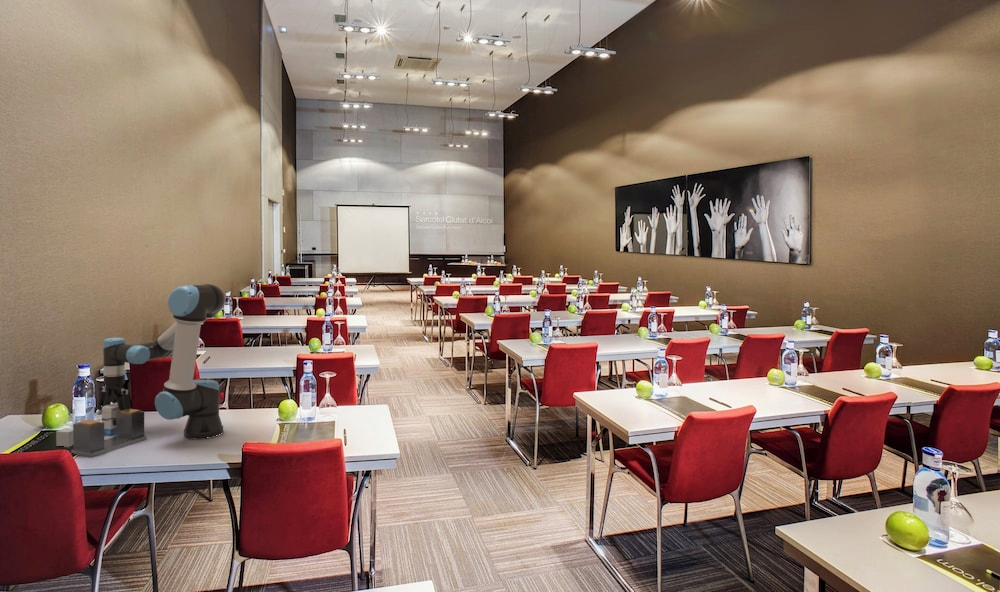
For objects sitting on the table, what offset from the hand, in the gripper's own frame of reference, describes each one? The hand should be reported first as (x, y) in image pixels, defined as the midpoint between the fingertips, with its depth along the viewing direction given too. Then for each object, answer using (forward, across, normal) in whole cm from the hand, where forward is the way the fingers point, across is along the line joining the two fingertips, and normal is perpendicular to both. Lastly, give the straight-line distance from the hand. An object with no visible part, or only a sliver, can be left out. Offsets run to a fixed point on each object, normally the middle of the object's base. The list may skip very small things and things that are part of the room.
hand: (114, 428), depth 258 cm
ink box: (+2, 0, 0) cm, 2 cm away
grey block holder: (+2, -14, +14) cm, 20 cm away
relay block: (+2, +2, +19) cm, 19 cm away
